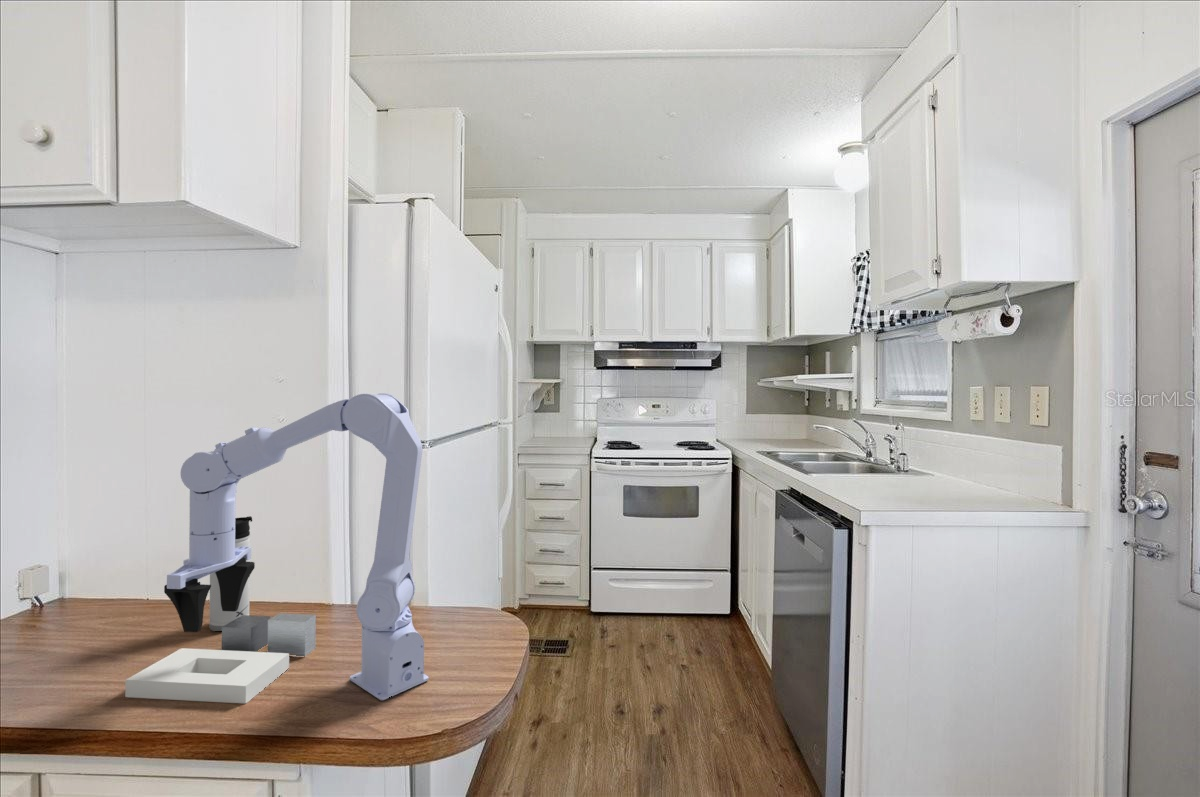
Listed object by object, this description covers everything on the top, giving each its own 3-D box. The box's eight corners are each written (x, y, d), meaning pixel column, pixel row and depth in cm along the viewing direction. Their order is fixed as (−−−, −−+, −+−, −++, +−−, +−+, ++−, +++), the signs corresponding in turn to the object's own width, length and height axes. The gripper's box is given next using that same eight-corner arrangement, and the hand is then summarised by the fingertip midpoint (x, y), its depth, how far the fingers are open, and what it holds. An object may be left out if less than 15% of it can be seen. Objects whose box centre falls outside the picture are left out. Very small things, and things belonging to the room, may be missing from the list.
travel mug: (250, 627, 105) (251, 520, 105) (207, 635, 102) (208, 524, 101) (252, 615, 110) (253, 513, 110) (211, 622, 107) (212, 517, 107)
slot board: (289, 669, 90) (289, 653, 90) (245, 703, 80) (245, 686, 80) (181, 663, 91) (181, 648, 91) (125, 697, 81) (125, 679, 81)
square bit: (270, 644, 98) (270, 616, 98) (250, 658, 93) (250, 628, 93) (242, 643, 99) (242, 615, 99) (221, 657, 94) (221, 627, 94)
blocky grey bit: (315, 649, 97) (315, 614, 97) (305, 657, 94) (305, 621, 94) (278, 647, 97) (279, 613, 97) (267, 656, 94) (267, 620, 94)
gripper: (222, 519, 93) (221, 601, 93) (146, 542, 78) (145, 640, 78) (263, 520, 92) (263, 603, 92) (194, 544, 78) (193, 642, 78)
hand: (212, 620), depth 85 cm, fingers open, 7 cm apart
